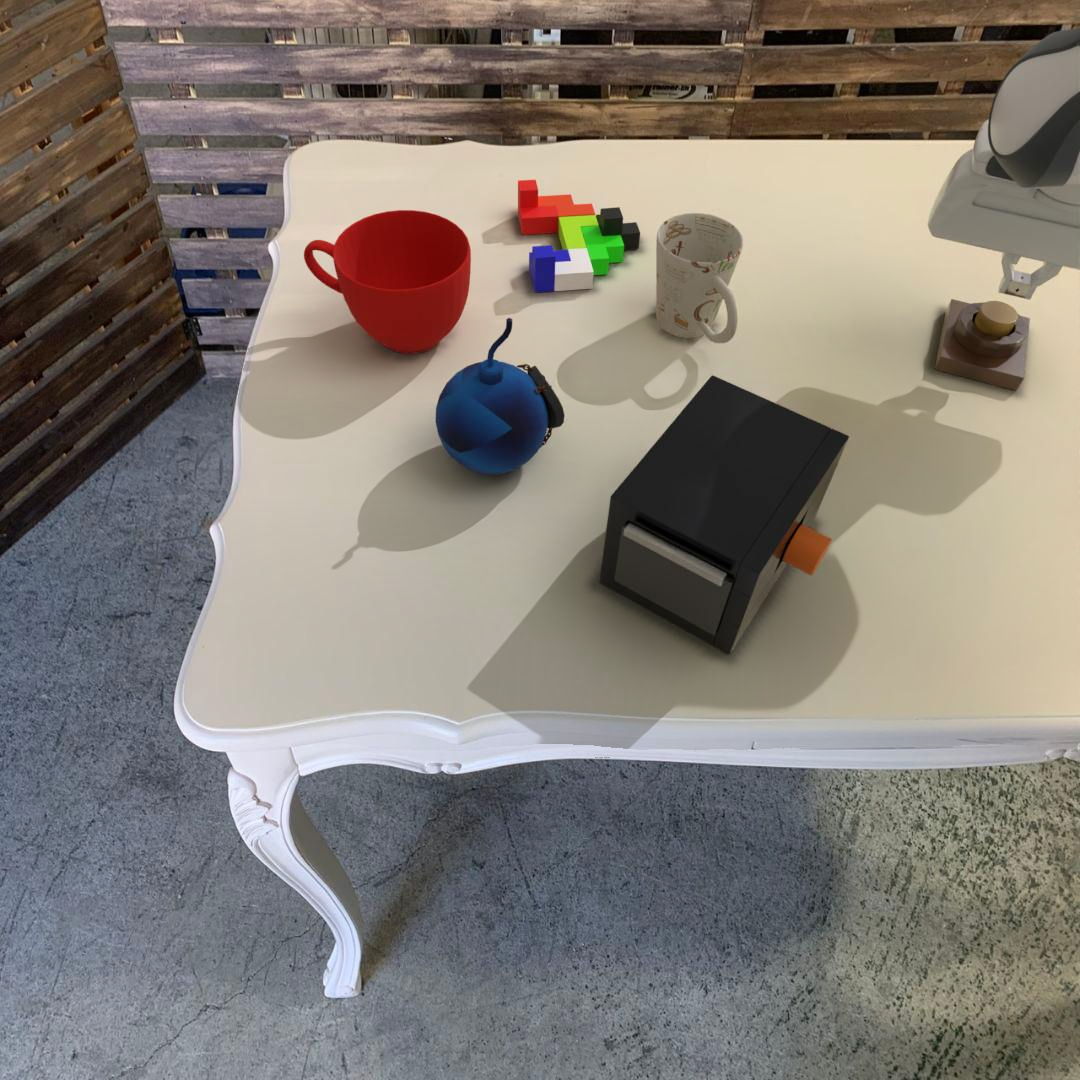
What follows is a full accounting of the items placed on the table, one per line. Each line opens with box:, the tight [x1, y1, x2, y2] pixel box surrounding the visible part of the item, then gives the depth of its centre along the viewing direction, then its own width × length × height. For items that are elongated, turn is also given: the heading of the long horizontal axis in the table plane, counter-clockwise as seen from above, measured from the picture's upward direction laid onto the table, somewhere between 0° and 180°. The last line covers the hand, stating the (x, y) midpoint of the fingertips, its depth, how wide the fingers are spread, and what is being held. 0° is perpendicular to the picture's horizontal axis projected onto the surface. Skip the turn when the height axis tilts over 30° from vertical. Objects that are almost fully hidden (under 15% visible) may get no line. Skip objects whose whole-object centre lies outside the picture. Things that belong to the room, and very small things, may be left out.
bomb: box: [435, 317, 565, 475], centre depth 76 cm, size 10×11×15 cm
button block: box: [934, 298, 1031, 392], centre depth 92 cm, size 8×10×4 cm
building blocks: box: [517, 179, 641, 293], centre depth 100 cm, size 15×13×4 cm
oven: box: [598, 374, 850, 655], centre depth 71 cm, size 12×17×11 cm
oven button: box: [782, 525, 832, 576], centre depth 69 cm, size 2×3×3 cm
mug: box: [655, 212, 744, 344], centre depth 90 cm, size 8×13×10 cm, turn 26°
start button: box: [974, 300, 1019, 337], centre depth 90 cm, size 4×4×2 cm
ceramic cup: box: [303, 209, 472, 354], centre depth 89 cm, size 13×17×10 cm
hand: (1013, 292), depth 87 cm, fingers closed
